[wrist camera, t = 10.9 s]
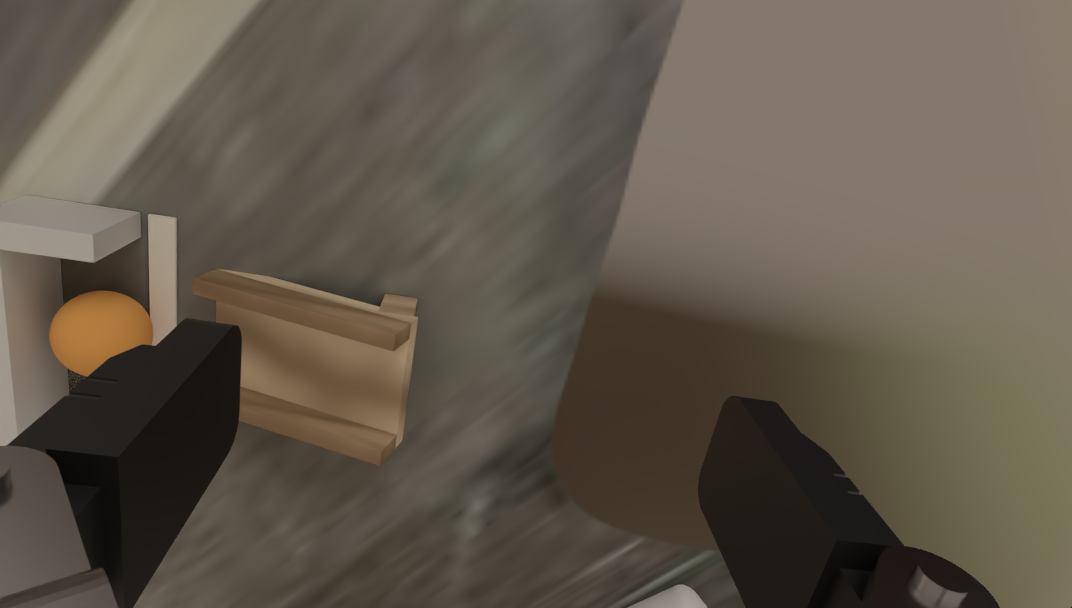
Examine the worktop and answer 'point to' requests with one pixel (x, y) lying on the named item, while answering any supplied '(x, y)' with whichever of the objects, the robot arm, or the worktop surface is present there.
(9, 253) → the backstop
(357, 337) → the ramp
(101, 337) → the ball
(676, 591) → the toaster
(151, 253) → the strip
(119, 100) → the worktop surface
